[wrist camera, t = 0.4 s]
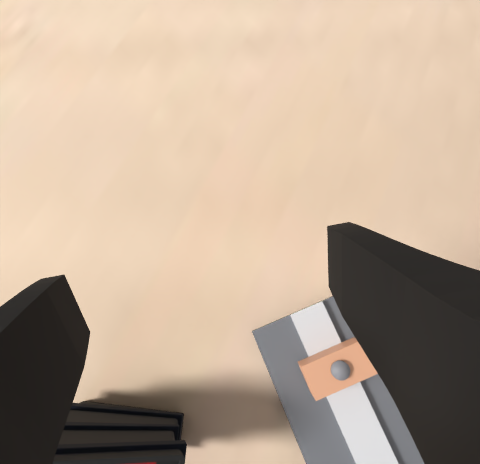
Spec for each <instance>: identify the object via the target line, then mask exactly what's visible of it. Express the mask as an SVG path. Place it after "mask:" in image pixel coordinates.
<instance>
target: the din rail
mask: <svg viewBox="0 0 480 464" xmlns="http://www.w3.org/2000/svg"><path fill="white" fill-rule="evenodd" d="M252 333H253V335H254V337H255V340H256V342H257V345H258V347H259V350H260V352H261V355H262V357H263V359H264V362H265V364H266V367H267V369H268V372H269V374H270V377H271V379H272V381H273V384H274V386H275V389H276V391H277V394H278V396H279V398H280V401H281V403H282V406H283V408H284V411H285V413H286V416H287V418H288V420H289V423H290V425H291V428H292V430H293V433H294V435H295V438H296V440H297V442H298V445H299V447H300V450H301V452H302V455H303V457H304V459H305V462H306V464H424V462H423V459H422V457H421V455H420V453H419V451H418V449H417V447H416V445H415V443H414V440H413V438H412V436H411V434H410V432H409V430H408V428H407V426H406V424H405V422H404V420H403V418H402V416H401V414H400V412H399V410H398V408H397V406H396V404H395V402H394V400H393V398H392V397H391V395H390V393H389V391H388V390H387V388H386V386H385V384H384V383H383V381H382V379H381V378H380V376H379V375H378V374H376V375H374V376H372V377H370V378H367V379H365V380H363V381H361V382H358V383H356V384H354V385H351V386H349V387H347V388H345V389H342V390H340V391H338V392H336V393H333V394H331V395H329V396H327V397H324V398H322V399H320V400H318V401H316V400H315V399H314V397H313V396H312V394H311V392H310V390H309V388H308V385H307V383H306V381H305V378H304V376H303V374H302V371H301V369H300V367H299V364H298V361H300V360H303V359H305V358H307V357H309V356H312V355H314V354H316V353H319V352H321V351H323V350H325V349H328V348H330V347H332V346H335V345H337V344H339V343H341V342H344V341H346V340H348V339H351V338H353V337H354V338H355V336H354V335H353V333H352V331H351V330H350V328H349V327H348V325H347V323H346V322H345V320H344V318H343V317H342V315H341V313H340V310H339V308H338V306H337V304H336V302H335V299H334V297H333V296H332V297H330V298H327V299H325V300H323V301H321V302H318V303H316V304H314V305H311V306H309V307H307V308H304V309H302V310H300V311H297V312H295V313H293V314H290V315H288V316H286V317H284V318H281V319H279V320H277V321H274V322H272V323H270V324H267V325H265V326H263V327H260V328H258V329H256V330H254V331H252Z"/></svg>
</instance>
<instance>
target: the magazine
mask: <svg viewBox="0 0 480 464" xmlns="http://www.w3.org/2000/svg"><path fill="white" fill-rule="evenodd" d="M183 416H184V414H183V413H177V412H168V411H160V410H152V409H144V408H135V407H127V406H119V405H111V404H103V403H94V402H86V401H83V402H81V403H72V406H71V409H70V411H69V414H68V417H67V420H66V423H65V426H64V429H63V432H62V435H61V438H60V441H59V444H58V447H57V450H56V453H55V457H54V460H53V463H52V464H185V455H186V446H187V444H186V442H185V440H181V433H182V424H183Z"/></svg>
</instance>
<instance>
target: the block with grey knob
mask: <svg viewBox="0 0 480 464" xmlns="http://www.w3.org/2000/svg"><path fill="white" fill-rule="evenodd" d="M298 364H299V367H300V369H301V371H302V374H303V376H304V378H305V381H306V383H307V385H308V388H309V390H310V392H311V394H312V396H313V397H314V399H315V400H316V401H318V400H320V399H322V398H324V397H327V396H329V395H331V394H333V393H336V392H338V391H340V390H342V389H345V388H347V387H349V386H351V385H354V384H356V383H358V382H361V381H363V380H365V379H367V378H370V377H372V376H374V375H376V374H378V373H377V371H376V370H375V368H374V367H373V365H372V364H371V362H370V360H369V359H368V357H367V356H366V354H365V352H364V351H363V349H362V348H361V346H360V344H359V343H358V341H357V340H356V338H354V337H353V338H351V339H348V340H346V341H344V342H341V343H339V344H337V345H335V346H332V347H330V348H328V349H325V350H323V351H321V352H319V353H316V354H314V355H312V356H309V357H307V358H305V359H303V360H300V361H298Z"/></svg>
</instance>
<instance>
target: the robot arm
mask: <svg viewBox="0 0 480 464" xmlns="http://www.w3.org/2000/svg"><path fill="white" fill-rule="evenodd" d="M327 231H328V275H329V288H330V290H331V292H332V295H333V297H334V299H335V302H336V304H337V306H338V308H339V310H340V313H341V315H342V317H343V318H344V320H345V322H346V323H347V325H348V327H349V328H350V330H351V331H352V333H353V335H354V336H355V338H356V340H357V341H358V343H359V344H360V346H361V348H362V349H363V351H364V352H365V354H366V356H367V357H368V359H369V360H370V362H371V364H372V365H373V367H374V368H375V370H376V371H377V373H378V375H379V376H380V378H381V379H382V381H383V383H384V384H385V386H386V388H387V390H388V391H389V393H390V395H391V397H392V398H393V400H394V402H395V404H396V406H397V408H398V410H399V412H400V414H401V416H402V418H403V420H404V422H405V424H406V426H407V428H408V430H409V432H410V434H411V436H412V438H413V440H414V443H415V445H416V447H417V449H418V451H419V453H420V455H421V457H422V459H423V462H424V464H480V271H479V270H476V269H472V268H469V267H466V266H463V265H460V264H457V263H454V262H451V261H448V260H445V259H442V258H440V257H437V256H434V255H431V254H428V253H426V252H423V251H421V250H418V249H415V248H413V247H410V246H408V245H405V244H403V243H401V242H398V241H396V240H393V239H391V238H388V237H386V236H384V235H381V234H379V233H377V232H374V231H372V230H369V229H367V228H364V227H362V226H359V225H356V224H353V223H350V222H347V223H342V224H336V225H331V226H327ZM89 337H90V331H89V328H88V326H87V324H86V322H85V320H84V317H83V315H82V313H81V311H80V308H79V306H78V304H77V302H76V300H75V297H74V295H73V293H72V291H71V288H70V286H69V284H68V282H67V280H66V277H65V275H60V276H54V277H49V278H43V279H40V280H38V281H37V282H35V283H33V284H32V285H30V286H29V287H27V288H26V289H24V290H23V291H21V292H20V293H18V294H17V295H16V296H14V297H13V298H12V299H10V300H9V301H7V302H6V303H5V304H3V305H2V306H1V307H0V464H52V463H53V460H54V457H55V453H56V450H57V447H58V444H59V441H60V438H61V435H62V432H63V429H64V426H65V423H66V420H67V417H68V414H69V411H70V409H71V406H72V403H73V400H74V397H75V394H76V391H77V387H78V384H79V381H80V378H81V375H82V372H83V369H84V365H85V360H86V355H87V349H88V343H89Z"/></svg>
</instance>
